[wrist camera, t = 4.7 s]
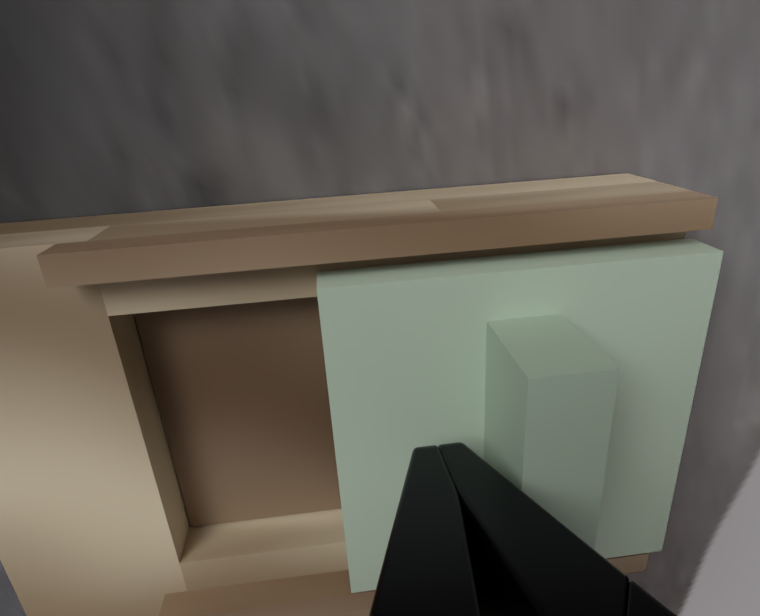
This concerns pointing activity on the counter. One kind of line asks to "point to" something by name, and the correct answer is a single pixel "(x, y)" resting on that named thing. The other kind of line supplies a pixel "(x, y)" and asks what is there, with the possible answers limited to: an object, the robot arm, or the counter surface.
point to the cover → (520, 382)
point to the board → (226, 384)
